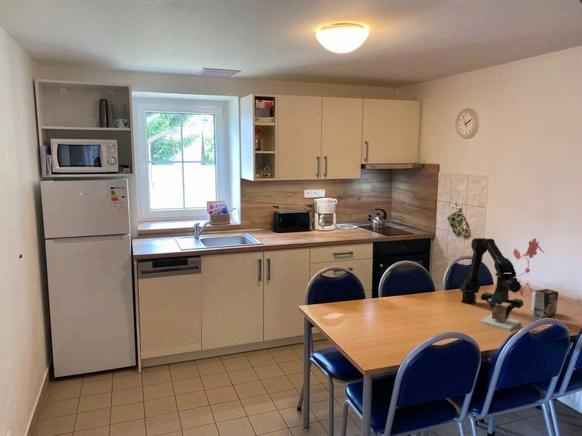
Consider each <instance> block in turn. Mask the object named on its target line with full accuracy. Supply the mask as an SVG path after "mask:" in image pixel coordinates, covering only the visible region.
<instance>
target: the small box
mask: <svg viewBox="0 0 582 436" xmlns="http://www.w3.org/2000/svg"><path fill="white" fill-rule="evenodd" d="M535 293H536V291H532V293H531V303H530V304H531V306H530V311H531V312H532V313H534V303H535Z"/></svg>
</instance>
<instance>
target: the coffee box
mask: <svg viewBox="0 0 582 436" xmlns="http://www.w3.org/2000/svg"><path fill="white" fill-rule="evenodd" d="M535 292H536V293H535V303H534V313H533V312H532V313H533V316H532V321H533V322H535V321H536V320H539V319H543V318H553V319H556V320H557V310H558V300H559V299H558V298H559V291H557V290H553V289H549V288H545V289H538V290H535Z"/></svg>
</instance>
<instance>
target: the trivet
mask: <svg viewBox="0 0 582 436" xmlns="http://www.w3.org/2000/svg"><path fill="white" fill-rule="evenodd" d="M520 322H521V321H520V320H517V319H513V318H509V319H507V320H506V321H505V322H503V321H499V320H495V319H492V313H491V314H489V315H487V316H486V317H484V318H482V319H481V320H480V324H482V325H486V326H489V327H490V326H491V327H492V328H497V329H501V330H504V331H508V332H510V331H512V330H513V329H514V328H515V327H517V326H518V325H519V324H520Z"/></svg>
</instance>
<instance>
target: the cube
mask: <svg viewBox="0 0 582 436" xmlns="http://www.w3.org/2000/svg"><path fill="white" fill-rule="evenodd" d="M491 314H492V319H495V320H499V321H503V322H505V321H506V320H507V319H510V315H509V316H508V318H506V314H507V305H502V304H501V305H499V304H496V305H495V306H494V307H493V310H492V309H491Z"/></svg>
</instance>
